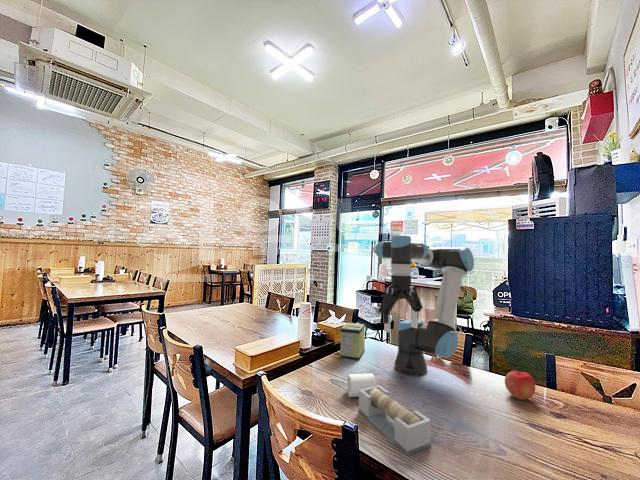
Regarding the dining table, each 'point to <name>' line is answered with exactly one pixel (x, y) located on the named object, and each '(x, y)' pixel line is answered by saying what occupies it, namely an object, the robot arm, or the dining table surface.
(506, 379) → the apple
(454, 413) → the dining table surface
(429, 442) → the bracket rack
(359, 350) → the protein box
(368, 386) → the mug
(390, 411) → the beige beaded rod
